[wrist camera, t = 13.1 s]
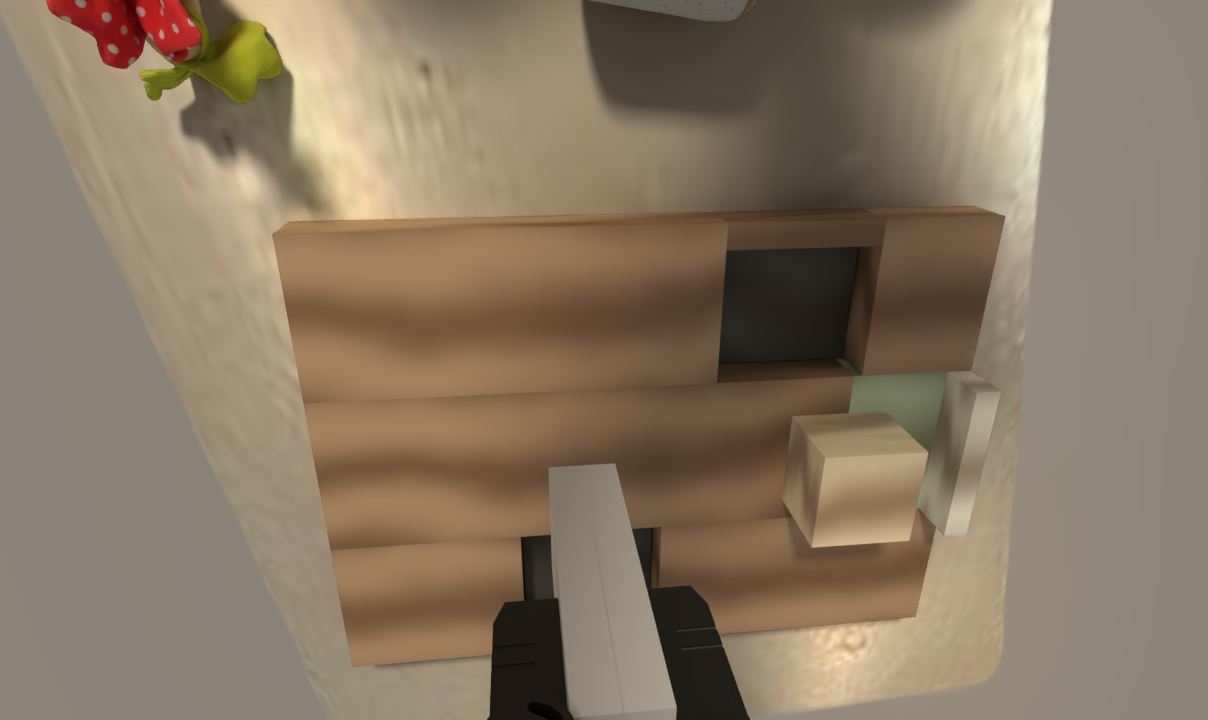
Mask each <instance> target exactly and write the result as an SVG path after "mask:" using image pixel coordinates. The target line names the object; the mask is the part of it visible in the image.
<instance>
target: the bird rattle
mask: <svg viewBox="0 0 1208 720" xmlns="http://www.w3.org/2000/svg"><path fill="white" fill-rule="evenodd" d="M47 5H48V8H49V10H50V12H52V13H53V14H54V15H56V16H57V17H59V18H61V19H62V20H65V21H67V22H69V23H71V24H73V25H75V26H77V27H79V28H81V29H82V30H84V31H86V32H87V33H89V34H91V35H92V36H93V37H95V39H96V41H97V46H98V50H99V53H100V56H101V58H102V61H103V62H104V64H105V65H109V66H112V67H115V68H121V69H126V68H128V67H129V66H130V65H131V64H132V63H134V62H135V61H136V60H137V59H138V58H139V57H140V55H141V54H142V52H143V47H144V43H145V39H146V41H147V42H148V43H149V44H150V45H151V46H152V47H153V48H154V49H155V50H156V51H157V52H158V53H159V54H161V55H162V56H163V57H164V58H165V59H166V60H168V61H169V62H170V63H172V64H173V65H174V66H175V68H173V69H161V70H144V71H141V72H140V76H141V80H143V81H146V82H145V84H144V86H145V91H146V93H147V96H148V98H149V99H150V100H158V99H159V98H160V97H161V95H162V90H164V89H167V90H168V89H173V88H175V87H177V86H178V85H180V84H181V83H182V82H183V81H185V80H186V79H188V78H189V77H190V76H192V74H193V73H194V72H195V73H197V74H198V75H200V76H201V77H203V78H204V79H206V80H207V81H209V82H210V83H212V84H213V85H215V86H217V87H219V88H220V89H221V90H222V91H223V92H224V93H225V94H226V95H227V96H228V97H229V98H230V99H231V100H232V101H234V102H236V103H247V102H248V101H249V100H250V99H251V98H252V97H253V96H254V95H255V92H256V88H257V81H258V79H269V78H274V77H277V76H278V75H279V74H280V71H281V67H282V60H281V57H280V55H279V54H278V52H277V51H276V50H275V48H274V47H273V46H272V45H271V43H270V42H269V41H268V39H267V38H266V37H265V34H266V30H267V29H266V27H265V26H264V25H262V24H261V23H258V22H253V21H238V22H236V23H235V24H234V25H232V26H231V27H230V28H229V29H227V30H226V31H225V32H224V33H223V34H222V35H221V36H220V37H219V38H217V39H216V40H214V41H213V42H211V43H210V40H209V32H208V29H207V27H206V24H205V22H204V20H203V17H202V11H201V6H200V1H199V0H47Z"/></svg>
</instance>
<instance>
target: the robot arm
mask: <svg viewBox="0 0 1208 720" xmlns="http://www.w3.org/2000/svg"><path fill="white" fill-rule="evenodd" d="M549 495H550V524H551V553H552V573H553V586H554V598H550V599H538V600H525V601H513V602H505V603H504V605H503V607H502V608H501V610H500V612H499V614H498V615H497V617H496V619H495V621H494V623H493V638H492V671H491V695H490V716H489V718H488V719H487V720H750V718H749V716H748V714H747V712H746V709H745V706H744V703H743V701H742V698H741V695H740V692H739V689H738V687H737V684H736V681H735V678H734V675H733V673H732V670H731V667H730V664H729V661H728V659H727V656H726V653H725V650H724V648H723V647H722V642H721V639H720V636H719V633H718V631H717V630H716V625H715V622H714V619H713V617H712V614H711V611H710V608H709V605H708V603H707V602H706V601H705V600H704V599H703V598H702V597H701V596H700V595H699V594H698V593H697V592H696V591H695V590H694V589H693V588H692V586H691V585H688V586H676V587H664V588H651V589H647V588H646V584H645V580H644V576H643V572H642V568H641V564H640V560H639V556H638V552H637V548H636V544H635V540H634V536H633V532H632V528H631V524H630V520H629V516H628V512H627V508H626V504H625V501H624V497H623V493H622V489H621V485H620V481H619V477H618V473H617V469H616V465H615V463H613V464H597V465H580V466H564V467H549Z"/></svg>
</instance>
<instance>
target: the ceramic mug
mask: <svg viewBox="0 0 1208 720" xmlns="http://www.w3.org/2000/svg"><path fill="white" fill-rule="evenodd" d="M590 1H595V2H601V3H607V4H613V5H618V6H623V7H629V8H634V9H640V10H646V11H651V12H658V13H664V14H669V15H675V16H680V17H686V18H691V19H696V20H701V21H715V22H726V21H734V20H737V19H739V18H741V17H742V16H744V15H745V14H746V13H747V12H748V11H749V10H751V9H752V8H753V7H754V5H755V4H756V2H757V1H758V0H590Z"/></svg>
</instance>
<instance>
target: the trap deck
mask: <svg viewBox="0 0 1208 720" xmlns="http://www.w3.org/2000/svg"><path fill="white" fill-rule="evenodd" d="M1004 220H1005V216H1003V215H1000V214H996V213H993V212H990V211H987V210H984V209H981V208H978V207H975V206H958V207H914V208H870V209H825V210H781V211H737V212H693V213H649V214H605V215H561V216H517V217H472V218H428V219H384V220H340V221H296V222H288V223H287V224H286V225H284V226H283V227H282V228H280V229H279V230H278V231H276V232H275V233H274V234H272V235H273V240H274V245H275V251H276V256H277V262H278V267H279V273H280V278H281V283H282V289H283V294H284V300H285V305H286V311H287V316H288V321H289V327H290V332H291V338H292V343H293V349H294V354H295V359H296V365H297V370H298V376H299V381H300V387H301V392H302V397H303V403H304V408H305V414H306V419H307V424H308V430H309V435H310V441H311V446H312V452H313V457H314V462H315V468H316V473H317V479H318V484H319V490H320V495H321V500H322V506H323V511H324V517H325V522H326V528H327V533H328V538H329V544H330V549H331V555H332V560H333V566H334V571H335V576H336V582H337V587H338V593H339V598H340V604H341V609H342V614H343V620H344V625H345V631H346V636H347V641H348V647H349V652H350V658H351V663H352V667H360V666H371V665H382V664H393V663H405V662H416V661H427V660H438V659H450V658H461V657H472V656H483V655H492V638H493V623H494V621H495V619H496V617H497V615H498V614H499V612H500V610H501V608H502V607H503V605H504V603H505V602H513V601H525V595H524V576H523V558H522V539H521V537H523V551H524V570H525V589H526V600H538V599H550V598H554V586H553V573H552V553H551V524H550V495H549V467H564V466H580V465H597V464H613V463H615V465H616V469H617V473H618V477H619V481H620V485H621V489H622V493H623V497H624V501H625V504H626V508H627V512H628V516H629V520H630V524H631V528H632V532H633V536H634V540H635V544H636V548H637V552H638V556H639V560H640V564H641V568H642V572H643V576H644V580H645V584H646V588H647V589H651V588H664V587H676V586H688V585H691V586H692V588H693V589H694V590H695V591H696V592H697V593H698V594H699V595H700V596H701V597H702V598H703V599H704V600H705V601H706V602H707V603H708V605H709V608H710V611H711V614H712V617H713V619H714V622H715V625H716V630H717V631H718V633H719V634H730V633H741V632H752V631H763V630H775V629H786V628H797V627H808V626H819V625H831V624H842V623H853V622H864V621H875V620H887V619H898V618H909V617H916V612H917V608H918V604H919V599H920V595H921V590H922V586H923V581H924V577H925V572H926V568H927V563H928V559H929V554H930V550H931V546H932V541H933V537H934V532H935V528H937V529H938V530H939V531H940V532H941V533H942V534H943V535H944V536H951V535H964V534H967V530H968V526H969V521H970V517H971V513H972V509H973V505H974V501H975V497H976V493H977V489H978V485H979V481H980V477H981V473H982V469H983V464H984V460H985V456H986V452H987V448H988V444H989V440H990V436H991V432H992V428H993V424H994V420H995V416H996V412H997V408H998V403H999V399H1000V395H1001V391H1000V390H998V389H997V388H995V387H994V386H992V385H991V384H990V383H988V382H987V381H985V380H984V379H982V378H981V377H979V376H978V375H976V374H975V373H973V372H972V371H971V367H972V363H973V358H974V354H975V349H976V345H977V340H978V336H979V331H980V327H981V322H982V318H983V313H984V309H985V304H986V300H987V296H988V291H989V287H990V282H991V278H992V273H993V269H994V264H995V260H996V255H997V251H998V246H999V242H1000V238H1001V233H1002V229H1003V224H1004ZM865 412H886V413H887V414H888V415H890V416H891V417H892V418H893V419H894V420H895V421H896V422H897V423H898V424H899V425H900V426H901V427H902V428H903V429H904V430H905V431H906V432H907V433H908V434H910V435H911V436H912V437H913V438H914V439H915V440H916V441H917V442H918V443H919V444H920V445H921V446H922V447H923V448H924V449H925V450H926V451H927V452H928V457H927V462H926V466H925V471H924V475H923V480H922V485H921V489H920V494H919V498H918V503H917V508H916V512H915V517H914V521H913V526H912V531H911V535H910V540H909V541H900V542H885V543H871V544H857V545H842V546H828V547H814V548H812V547H811V546H810V544H809V542H808V541H807V539H806V538H805V536H804V534H803V533H802V531H801V529H800V528H799V526H798V524H797V523H796V521H795V520H794V518H793V516H792V515H791V513H790V511H789V510H788V508H787V506H786V505H785V503H784V501H783V500H782V493H783V485H784V477H785V470H786V462H787V454H788V446H789V438H790V431H791V423H792V416H802V415H823V414H844V413H865ZM651 535H652V543H651ZM650 565H651V572H650Z"/></svg>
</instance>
